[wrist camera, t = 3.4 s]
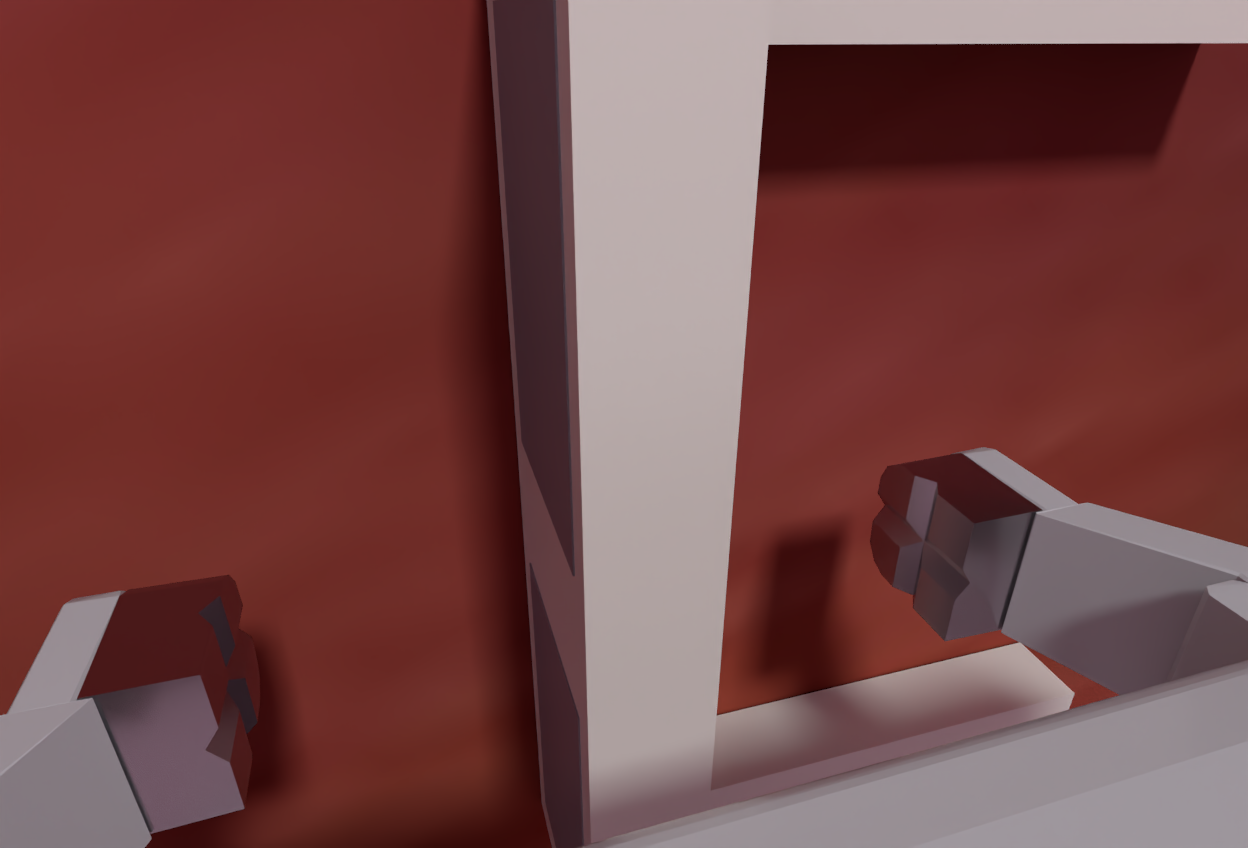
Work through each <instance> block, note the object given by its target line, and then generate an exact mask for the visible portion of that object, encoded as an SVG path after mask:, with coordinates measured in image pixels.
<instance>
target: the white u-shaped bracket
mask: <svg viewBox="0 0 1248 848" xmlns="http://www.w3.org/2000/svg"><path fill="white" fill-rule="evenodd" d="M487 14H488V28H489V43H490V58H491V72H492V87H493V101H494V116H495V130H496V145H497V159H498V174H499V189H500V203H501V218H502V232H503V247H504V261H505V276H506V290H507V305H508V319H509V334H510V349H511V363H512V378H513V392H514V407H515V421H516V436H517V450H518V465H519V480H520V494H521V509H522V523H523V538H524V552H525V567H526V581H527V596H528V611H529V625H530V640H531V654H532V669H533V683H534V698H535V712H536V727H537V742H538V756H539V771H540V785H541V800H542V807H543V811H544V815H545V820H546V824H547V828H548V833H549V837H550V841H551V846H552V848H576V847H580V846H583V845H587V844H591V843H594V842H598V841H601V840H605V839H608V838H612V837H615V836H619V835H622V834H626V833H630V832H633V831H637V830H640V829H644V828H647V827H651V826H654V825H658V824H662V823H665V822H669V821H672V820H676V819H679V818H683V817H687V816H690V815H694V814H697V813H701V812H704V811H708V810H712V809H715V808H719V807H722V806H726V805H729V804H733V803H737V802H740V801H744V800H747V799H751V798H754V797H758V796H762V795H765V794H769V793H772V792H776V791H780V790H783V789H787V788H790V787H794V786H797V785H801V784H805V783H808V782H812V781H815V780H819V779H822V778H826V777H830V776H833V775H837V774H840V773H844V772H847V771H851V770H855V769H858V768H862V767H865V766H869V765H873V764H876V763H880V762H883V761H887V760H890V759H894V758H898V757H901V756H905V755H908V754H912V753H915V752H919V751H923V750H926V749H930V748H933V747H937V746H940V745H944V744H948V743H951V742H955V741H958V740H962V739H965V738H969V737H973V736H976V735H980V734H983V733H987V732H990V731H994V730H998V729H1001V728H1005V727H1008V726H1012V725H1015V724H1019V723H1023V722H1026V721H1030V720H1033V719H1037V718H1040V717H1044V716H1048V715H1051V714H1055V713H1058V712H1062V711H1065V710H1069V707H1070V705H1071V702H1072V699H1073V696H1074V694H1075V693H1074V692H1073V691H1072V690H1071V689H1069V688H1068V687H1067V686H1066V685H1065V684H1064V683H1063V682H1062V681H1061V680H1060V679H1059V678H1058V677H1057V676H1056V675H1055V674H1053V673H1052V672H1051V671H1050V670H1049V669H1048V668H1047V667H1046V666H1045V665H1044V664H1043V663H1042V662H1041V661H1040V660H1038V659H1037V658H1036V657H1035V656H1034V655H1033V654H1032V653H1031V652H1030V651H1029V650H1028V649H1027V648H1026V647H1025V646H1023V645H1022V644H1021V643H1015V644H1011V645H1007V646H1003V647H999V648H995V649H991V650H986V651H982V652H978V653H974V654H970V655H966V656H962V657H957V658H953V659H949V660H945V661H941V662H937V663H933V664H928V665H924V666H920V667H916V668H912V669H908V670H904V671H899V672H895V673H891V674H887V675H883V676H879V677H875V678H870V679H866V680H862V681H858V682H854V683H850V684H846V685H841V686H837V687H833V688H829V689H825V690H821V691H817V692H812V693H808V694H804V695H800V696H796V697H792V698H788V699H783V700H779V701H775V702H771V703H767V704H763V705H759V706H755V707H750V708H746V709H742V710H738V711H734V712H730V713H726V714H721V715H717V703H718V690H719V677H720V664H721V651H722V638H723V625H724V612H725V599H726V586H727V573H728V560H729V548H730V535H731V522H732V509H733V496H734V483H735V470H736V457H737V444H738V431H739V418H740V405H741V392H742V379H743V366H744V353H745V340H746V327H747V315H748V302H749V289H750V276H751V263H752V250H753V237H754V224H755V211H756V198H757V185H758V172H759V159H760V146H761V133H762V120H763V107H764V95H765V82H766V69H767V56H768V45H788V44H1095V43H1248V0H487Z"/></svg>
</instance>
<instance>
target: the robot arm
mask: <svg viewBox="0 0 1248 848" xmlns="http://www.w3.org/2000/svg"><path fill="white" fill-rule="evenodd" d="M878 495H879V496H880V498H881V499H882V501H883V503H884V504H885V506H884V507H883V508H882V510H881V511H880V512H879V513H878V515H877V516H876V517H875V519H874V520H873V523H872V530H871V538H870V544H871V548H872V553H873V558H874V561H875V563H876V565H877V567H878V569H879V571H880V573H881V574H882V576H883V577H884V578H885V579H886V580H887V581H888V582H889V583H890V584H891V585H892V586H893V587H895V588H897V589H900V590H902V591H904V592H907V593H909V594H911V595H913V609H914V610H915V611H916V612H917V613H918V614H919V615H920V616H921V617H922V618H923V619H924V620H925V621H926V622H927V623H928V624H929V625H930V626H931V627H932V628H933V629H934V630H935V631H936V632H937V633H938V635H939V636H940V637H941V638H942V639H943V640H944V641H948V640H953V639H958V638H963V637H968V636H972V635H977V634H982V633H987V632H992V631H997V630H1001V629H1002V631H1001V633H1003V634H1005V635H1007V636H1009V637H1011V638H1013V639H1014V640H1016V641H1018V642H1020V643H1022V644H1024V645H1026V646H1028V647H1030V648H1032V649H1033V650H1035V651H1037V652H1039V653H1041V654H1043V655H1045V656H1047V657H1049V658H1051V659H1052V660H1054V661H1056V662H1058V663H1060V664H1062V665H1064V666H1066V667H1068V668H1070V669H1071V670H1073V671H1075V672H1077V673H1079V674H1081V675H1083V676H1085V677H1087V678H1089V679H1090V680H1092V681H1094V682H1096V683H1098V684H1100V685H1102V686H1104V687H1106V688H1108V689H1109V690H1111V691H1113V692H1115V693H1117V694H1119V696H1115V697H1112V698H1108V699H1105V700H1101V701H1098V702H1094V703H1090V704H1087V705H1083V706H1080V707H1076V708H1073V709H1069V710H1065V711H1062V712H1058V713H1055V714H1051V715H1048V716H1044V717H1040V718H1037V719H1033V720H1030V721H1026V722H1023V723H1019V724H1015V725H1012V726H1008V727H1005V728H1001V729H998V730H994V731H990V732H987V733H983V734H980V735H976V736H973V737H969V738H965V739H962V740H958V741H955V742H951V743H948V744H944V745H940V746H937V747H933V748H930V749H926V750H923V751H919V752H915V753H912V754H908V755H905V756H901V757H898V758H894V759H890V760H887V761H883V762H880V763H876V764H873V765H869V766H865V767H862V768H858V769H855V770H851V771H847V772H844V773H840V774H837V775H833V776H830V777H826V778H822V779H819V780H815V781H812V782H808V783H805V784H801V785H797V786H794V787H790V788H787V789H783V790H780V791H776V792H772V793H769V794H765V795H762V796H758V797H754V798H751V799H747V800H744V801H740V802H737V803H733V804H729V805H726V806H722V807H719V808H715V809H712V810H708V811H704V812H701V813H697V814H694V815H690V816H687V817H683V818H679V819H676V820H672V821H669V822H665V823H662V824H658V825H654V826H651V827H647V828H644V829H640V830H637V831H633V832H630V833H626V834H622V835H619V836H615V837H612V838H608V839H605V840H601V841H598V842H594V843H591V844H587V845H583V846H580V847H576V848H1248V547H1244V546H1241V545H1237V544H1234V543H1230V542H1227V541H1223V540H1219V539H1216V538H1212V537H1209V536H1205V535H1202V534H1198V533H1195V532H1191V531H1187V530H1184V529H1180V528H1177V527H1173V526H1170V525H1166V524H1163V523H1159V522H1155V521H1152V520H1148V519H1145V518H1141V517H1138V516H1134V515H1131V514H1127V513H1123V512H1120V511H1116V510H1113V509H1109V508H1106V507H1102V506H1098V505H1095V504H1091V503H1083V504H1077V503H1076V502H1074V501H1073V500H1071V499H1070V498H1068V497H1067V496H1065V495H1064V494H1062V493H1061V492H1059V491H1058V490H1056V489H1055V488H1053V487H1052V486H1050V485H1049V484H1047V483H1045V482H1044V481H1042V480H1041V479H1039V478H1038V477H1036V476H1035V475H1033V474H1032V473H1030V472H1029V471H1027V470H1026V469H1024V468H1023V467H1021V466H1020V465H1018V464H1017V463H1015V462H1014V461H1012V460H1011V459H1009V458H1008V457H1006V456H1004V455H1003V454H1001V453H1000V452H998V451H997V450H995V449H990V448H985V447H982V448H977V449H972V450H967V451H962V452H957V453H952V454H951V455H946V456H940V457H935V458H929V459H924V460H918V461H913V462H907V463H902V464H897V465H891V466H887V468H886V469H885V471H884V473H883V474H882V476H881V479H880V484H879V489H878ZM242 607H243V604H242V601H241V598H240V595H239V592H238V589H237V585H236V582H235V581H234V580H233V579H232V578H231V576H230V575H224V576H218V577H211V578H204V579H197V580H190V581H184V582H177V583H170V584H163V585H157V586H150V587H143V588H136V589H129V590H127V591H116V592H110V593H104V594H98V595H92V596H86V597H80V598H75V599H73V600H71V601H69V602H67V603H66V604H64V605H63V607H62V608H61V610H60V612H59V614H58V616H57V618H56V619H55V621H54V623H53V625H52V627H51V629H50V631H49V633H48V635H47V637H46V639H45V641H44V643H43V645H42V647H41V648H40V650H39V652H38V654H37V656H36V658H35V660H34V662H33V664H32V666H31V668H30V670H29V672H28V674H27V676H26V678H25V679H24V681H23V683H22V685H21V687H20V689H19V691H18V693H17V695H16V697H15V699H14V701H13V703H12V705H11V707H10V708H9V710H8V712H7V714H6V715H1V716H0V848H145V847H146V846H147V844H148V843H149V842H150V840H151V839H152V838H151V835H150V834H152V833H156V832H160V831H163V830H167V829H171V828H175V827H178V826H182V825H186V824H190V823H193V822H197V821H201V820H205V819H209V818H212V817H216V816H220V815H224V814H227V813H231V812H235V811H239V810H242V809H245V804H246V797H247V791H248V784H249V778H250V771H251V764H252V758H253V754H252V751H251V748H250V744H249V741H248V737H247V733H248V732H249V731H250V730H251V729H252V728H253V727H254V726H255V725H256V723H257V722H258V715H259V707H260V673H259V667H258V661H257V655H256V651H255V647H254V643H253V640H252V637H251V636H250V635H248V634H247V633H245V632H244V631H242V630H241V629H239V623H240V618H241V613H242Z"/></svg>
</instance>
